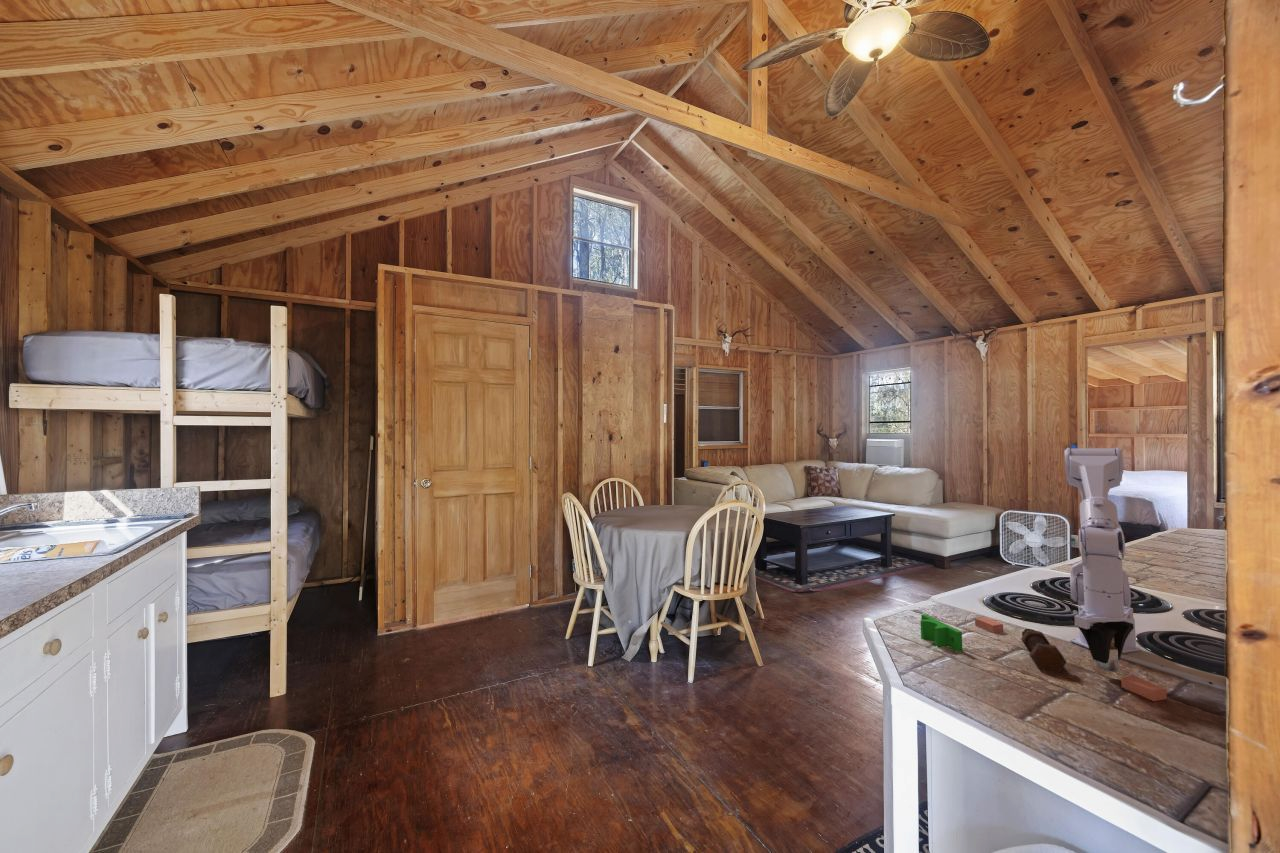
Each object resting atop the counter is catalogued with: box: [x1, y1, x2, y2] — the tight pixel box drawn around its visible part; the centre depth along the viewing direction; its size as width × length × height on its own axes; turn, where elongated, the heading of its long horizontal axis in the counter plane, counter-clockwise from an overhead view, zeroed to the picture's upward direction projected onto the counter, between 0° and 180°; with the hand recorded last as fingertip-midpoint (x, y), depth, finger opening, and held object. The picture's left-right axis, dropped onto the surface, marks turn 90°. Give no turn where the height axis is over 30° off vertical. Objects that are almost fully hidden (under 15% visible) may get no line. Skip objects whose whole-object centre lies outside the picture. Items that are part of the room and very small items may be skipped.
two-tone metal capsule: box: [1095, 636, 1119, 673], centre depth 98 cm, size 3×3×6 cm
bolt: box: [1020, 628, 1067, 673], centre depth 108 cm, size 6×5×15 cm
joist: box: [974, 616, 1004, 634], centre depth 123 cm, size 3×5×2 cm, turn 12°
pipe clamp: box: [919, 614, 963, 653], centre depth 116 cm, size 11×4×5 cm, turn 9°
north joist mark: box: [1120, 675, 1168, 702], centre depth 92 cm, size 3×5×2 cm, turn 12°
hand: (1106, 659), depth 98 cm, fingers closed on two-tone metal capsule, 3 cm apart
